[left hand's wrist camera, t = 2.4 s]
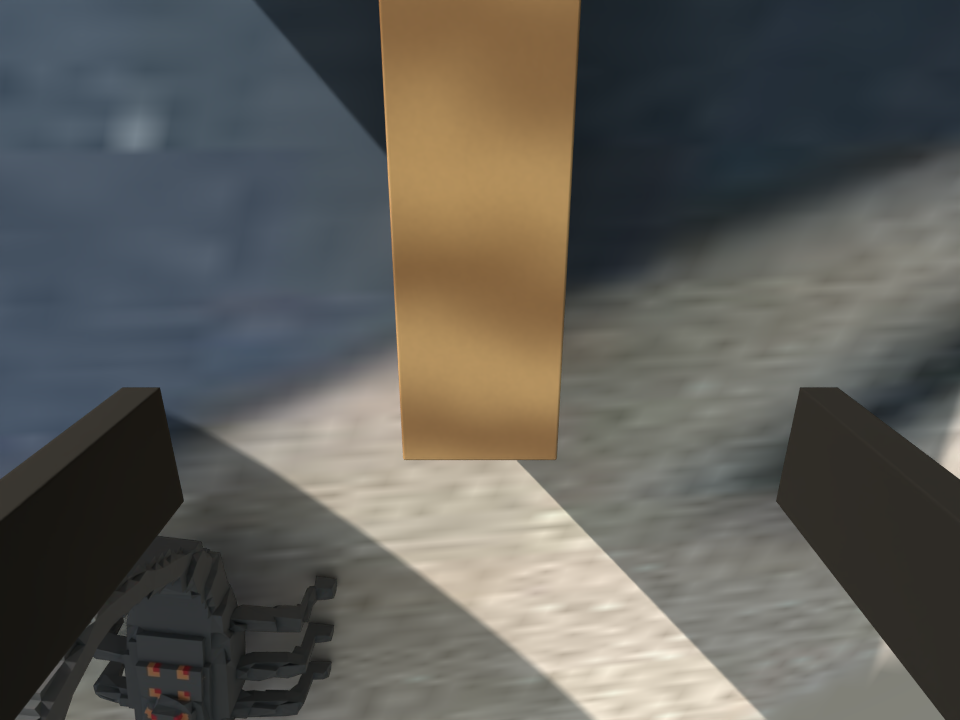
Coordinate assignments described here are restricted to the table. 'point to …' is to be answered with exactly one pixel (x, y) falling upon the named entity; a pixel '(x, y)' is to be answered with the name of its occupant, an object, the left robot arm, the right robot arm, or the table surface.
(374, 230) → the table surface
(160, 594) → the toy
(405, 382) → the oak beam
